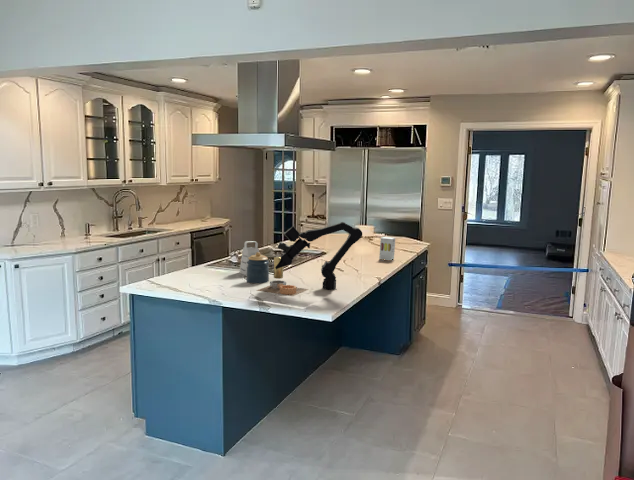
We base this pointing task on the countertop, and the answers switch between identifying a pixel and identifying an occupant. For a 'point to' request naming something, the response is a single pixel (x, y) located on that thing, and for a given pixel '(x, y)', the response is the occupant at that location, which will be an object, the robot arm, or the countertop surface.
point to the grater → (247, 256)
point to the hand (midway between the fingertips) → (275, 267)
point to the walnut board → (277, 291)
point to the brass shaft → (277, 272)
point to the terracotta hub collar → (288, 289)
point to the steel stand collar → (277, 284)
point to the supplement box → (387, 248)
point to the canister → (257, 269)
